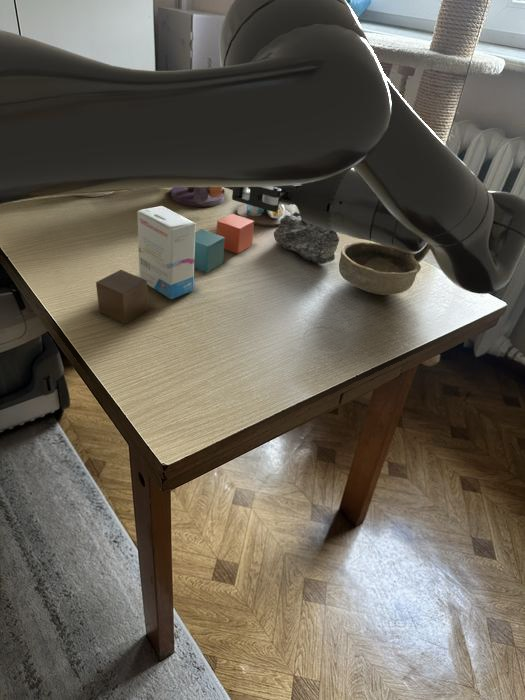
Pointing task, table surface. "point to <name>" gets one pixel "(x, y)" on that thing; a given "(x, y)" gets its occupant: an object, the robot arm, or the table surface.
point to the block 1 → (122, 296)
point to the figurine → (198, 196)
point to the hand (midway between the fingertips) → (232, 166)
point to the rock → (306, 239)
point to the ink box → (166, 251)
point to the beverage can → (262, 215)
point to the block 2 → (208, 250)
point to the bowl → (379, 267)
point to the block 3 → (236, 232)
